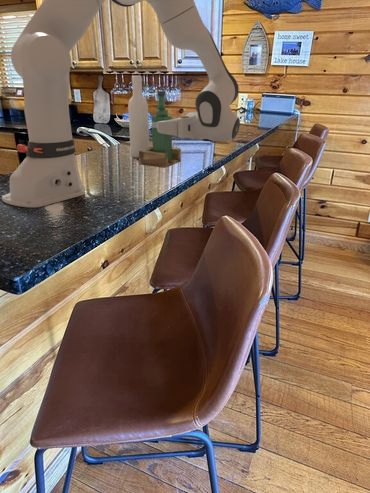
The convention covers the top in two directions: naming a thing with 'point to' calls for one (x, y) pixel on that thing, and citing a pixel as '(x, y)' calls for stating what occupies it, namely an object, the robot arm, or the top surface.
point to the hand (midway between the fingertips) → (159, 123)
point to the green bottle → (160, 140)
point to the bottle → (138, 119)
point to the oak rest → (159, 157)
